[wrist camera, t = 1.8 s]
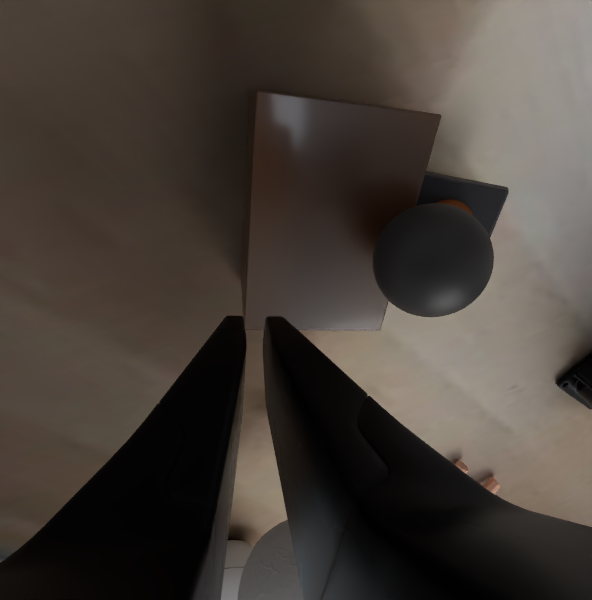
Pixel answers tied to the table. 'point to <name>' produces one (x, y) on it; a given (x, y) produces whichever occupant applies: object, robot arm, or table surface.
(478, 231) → the ball-topped stamp
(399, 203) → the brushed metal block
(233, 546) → the white oval body
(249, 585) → the lollipop
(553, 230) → the table surface
